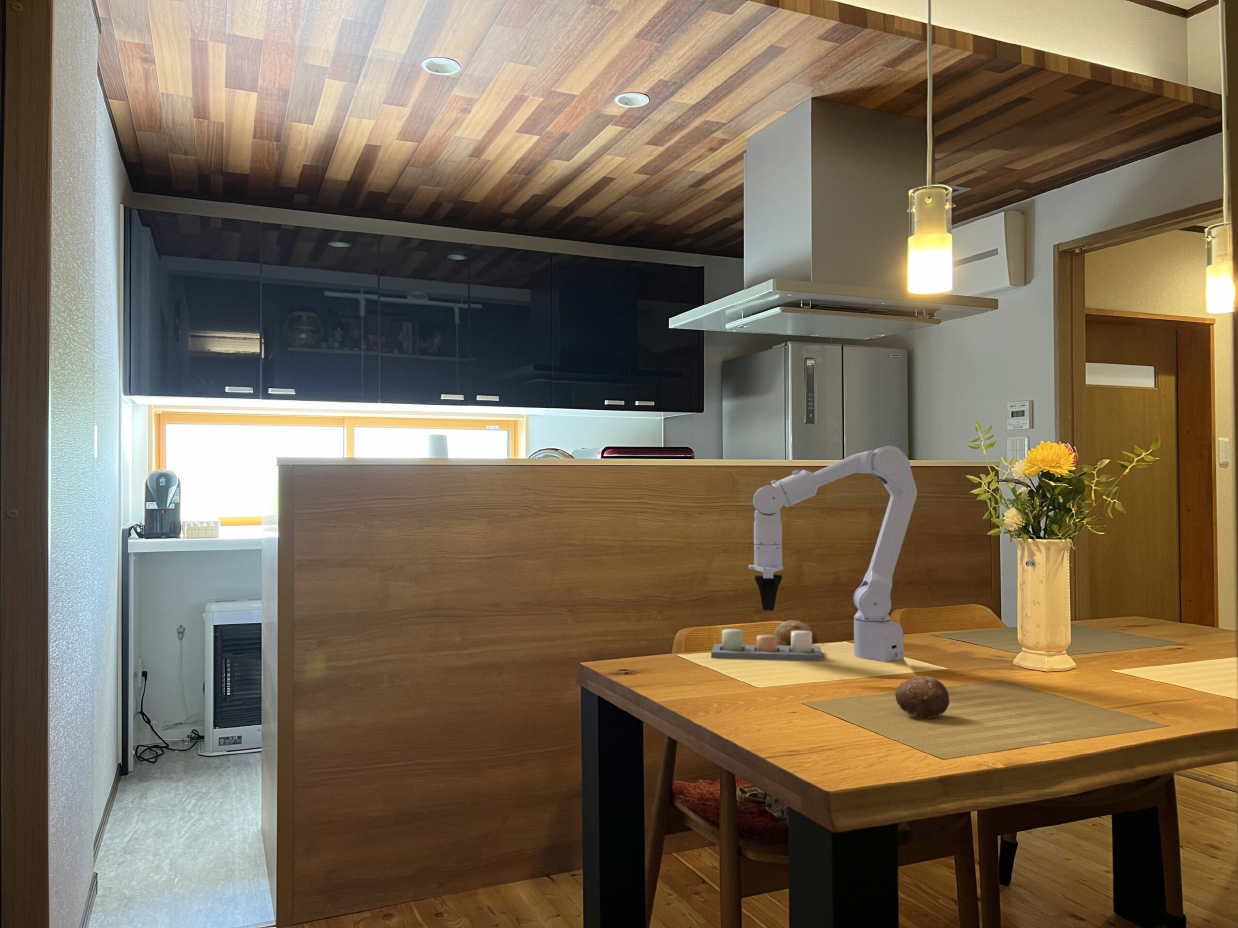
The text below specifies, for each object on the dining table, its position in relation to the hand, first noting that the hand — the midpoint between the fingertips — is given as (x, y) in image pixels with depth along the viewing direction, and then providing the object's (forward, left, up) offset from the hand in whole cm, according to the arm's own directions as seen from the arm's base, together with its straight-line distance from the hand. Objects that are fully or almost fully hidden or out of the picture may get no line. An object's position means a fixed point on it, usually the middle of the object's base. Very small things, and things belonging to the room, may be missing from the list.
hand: (768, 610), depth 194 cm
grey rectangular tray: (0, +1, -10) cm, 10 cm away
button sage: (+5, +6, -9) cm, 12 cm away
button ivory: (-5, -4, -9) cm, 11 cm away
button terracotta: (0, +1, -10) cm, 10 cm away
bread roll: (+8, -16, -11) cm, 21 cm away
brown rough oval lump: (-47, +13, -11) cm, 50 cm away
